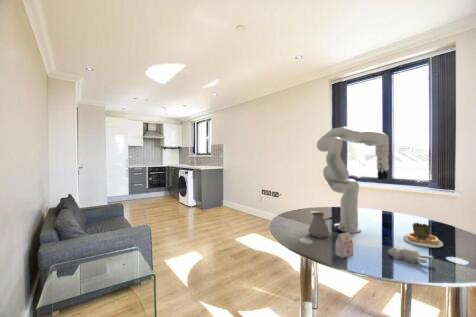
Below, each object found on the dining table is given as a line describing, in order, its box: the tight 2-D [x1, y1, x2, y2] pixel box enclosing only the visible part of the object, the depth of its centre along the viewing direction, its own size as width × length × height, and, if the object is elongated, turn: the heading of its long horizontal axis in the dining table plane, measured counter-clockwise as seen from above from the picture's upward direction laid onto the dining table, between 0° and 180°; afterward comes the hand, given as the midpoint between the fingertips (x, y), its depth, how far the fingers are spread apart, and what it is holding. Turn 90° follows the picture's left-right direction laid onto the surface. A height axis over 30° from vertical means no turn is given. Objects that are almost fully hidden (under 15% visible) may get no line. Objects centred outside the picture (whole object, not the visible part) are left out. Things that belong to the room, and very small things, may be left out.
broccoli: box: [412, 222, 432, 240], centre depth 116 cm, size 8×7×8 cm
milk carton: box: [335, 232, 354, 259], centre depth 102 cm, size 4×7×10 cm, turn 113°
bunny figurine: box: [387, 246, 435, 264], centre depth 95 cm, size 10×5×15 cm
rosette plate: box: [402, 231, 444, 249], centre depth 116 cm, size 16×16×3 cm
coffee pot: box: [307, 211, 343, 239], centre depth 123 cm, size 21×12×15 cm, turn 27°
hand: (382, 178), depth 149 cm, fingers open, 9 cm apart
